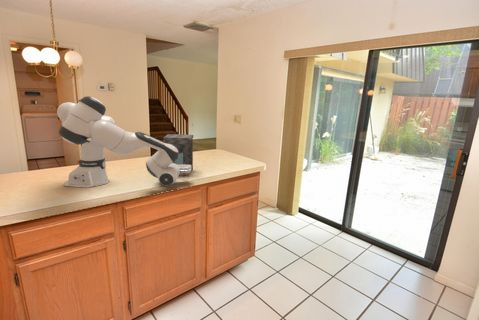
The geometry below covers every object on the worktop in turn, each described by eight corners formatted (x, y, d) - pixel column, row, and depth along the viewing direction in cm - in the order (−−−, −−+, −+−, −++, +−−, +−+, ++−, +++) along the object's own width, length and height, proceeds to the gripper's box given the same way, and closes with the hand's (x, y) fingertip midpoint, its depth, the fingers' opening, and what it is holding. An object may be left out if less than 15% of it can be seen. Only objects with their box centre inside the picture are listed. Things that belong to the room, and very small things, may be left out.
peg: (175, 173, 167) (175, 153, 164) (176, 171, 172) (176, 151, 169) (182, 173, 168) (182, 153, 165) (183, 172, 172) (183, 152, 169)
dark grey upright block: (164, 176, 162) (163, 137, 156) (169, 169, 178) (168, 134, 172) (190, 176, 164) (190, 138, 158) (193, 170, 179) (193, 134, 173)
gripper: (190, 166, 143) (193, 160, 156) (153, 165, 141) (159, 159, 155) (190, 176, 144) (193, 170, 158) (154, 176, 143) (160, 169, 156)
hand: (176, 165), depth 156 cm, fingers open, 8 cm apart
